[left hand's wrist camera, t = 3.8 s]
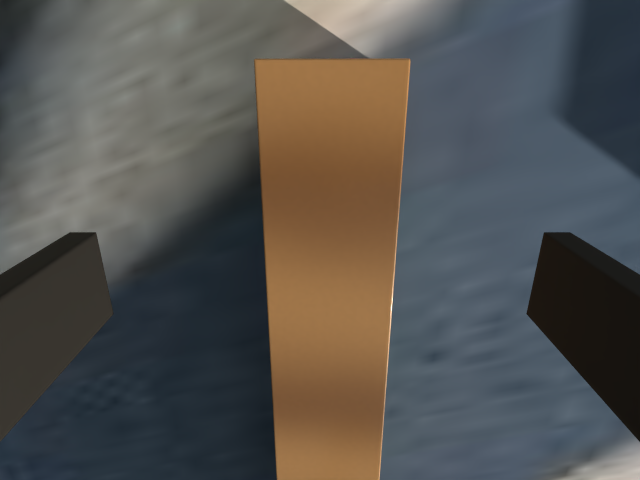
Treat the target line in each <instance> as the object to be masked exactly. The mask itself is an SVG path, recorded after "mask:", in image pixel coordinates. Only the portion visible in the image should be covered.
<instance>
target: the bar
mask: <svg viewBox="0 0 640 480" xmlns="http://www.w3.org/2000/svg"><path fill="white" fill-rule="evenodd" d="M254 67H255V86H256V104H257V123H258V141H259V160H260V178H261V197H262V215H263V234H264V252H265V271H266V289H267V308H268V326H269V345H270V363H271V382H272V400H273V419H274V437H275V456H276V474H277V480H379V476H380V462H381V449H382V435H383V422H384V408H385V395H386V381H387V368H388V355H389V341H390V328H391V314H392V301H393V287H394V274H395V260H396V247H397V233H398V220H399V206H400V193H401V179H402V166H403V152H404V139H405V126H406V112H407V99H408V85H409V72H410V59H254Z"/></svg>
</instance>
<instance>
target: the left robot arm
mask: <svg viewBox="0 0 640 480" xmlns="http://www.w3.org/2000/svg"><path fill="white" fill-rule="evenodd" d="M112 315H113V310H112V305H111V300H110V296H109V291H108V286H107V281H106V277H105V272H104V267H103V263H102V258H101V253H100V249H99V244H98V239H97V235H96V232H70V233H68V234H67V235H65V236H63V237H62V238H60V239H58V240H57V241H55V242H53V243H52V244H50V245H48V246H47V247H45V248H43V249H42V250H40V251H39V252H37V253H35V254H34V255H32V256H30V257H29V258H27V259H25V260H24V261H22V262H20V263H19V264H17V265H16V266H14V267H12V268H11V269H9V270H7V271H6V272H4V273H2V274H1V275H0V441H1V440H2V439H3V438H4V437H5V436H6V435H7V434H8V432H9V431H10V430H11V429H12V428H13V427H14V426H15V424H16V423H17V422H18V421H19V420H20V419H21V418H22V417H23V415H24V414H25V413H26V412H27V411H28V410H29V409H30V408H31V406H32V405H33V404H34V403H35V402H36V401H37V400H38V399H39V397H40V396H41V395H42V394H43V393H44V392H45V391H46V389H47V388H48V387H49V386H50V385H51V384H52V383H53V382H54V380H55V379H56V378H57V377H58V376H59V375H60V374H61V373H62V371H63V370H64V369H65V368H66V367H67V366H68V365H69V363H70V362H71V361H72V360H73V359H74V358H75V357H76V356H77V354H78V353H79V352H80V351H81V350H82V349H83V348H84V347H85V345H86V344H87V343H88V342H89V341H90V340H91V339H92V338H93V336H94V335H95V334H96V333H97V332H98V331H99V330H100V328H101V327H102V326H103V325H104V324H105V323H106V322H107V321H108V319H109V318H110V317H111V316H112ZM527 315H528V316H529V317H530V318H531V319H532V321H533V322H534V323H535V324H536V325H537V326H538V327H539V328H540V330H541V331H542V332H543V333H544V334H545V335H546V336H547V338H548V339H549V340H550V341H551V342H552V343H553V344H554V345H555V347H556V348H557V349H558V350H559V351H560V352H561V353H562V354H563V356H564V357H565V358H566V359H567V360H568V361H569V362H570V363H571V365H572V366H573V367H574V368H575V369H576V370H577V371H578V373H579V374H580V375H581V376H582V377H583V378H584V379H585V380H586V382H587V383H588V384H589V385H590V386H591V387H592V388H593V389H594V391H595V392H596V393H597V394H598V395H599V396H600V397H601V399H602V400H603V401H604V402H605V403H606V404H607V405H608V406H609V408H610V409H611V410H612V411H613V412H614V413H615V414H616V415H617V417H618V418H619V419H620V420H621V421H622V422H623V423H624V424H625V426H626V427H627V428H628V429H629V430H630V431H631V432H632V434H633V435H634V436H635V437H636V438H637V439H638V440H639V441H640V275H639V274H638V273H636V272H634V271H633V270H631V269H629V268H628V267H626V266H624V265H623V264H621V263H620V262H618V261H616V260H615V259H613V258H611V257H610V256H608V255H606V254H605V253H603V252H601V251H600V250H598V249H597V248H595V247H593V246H592V245H590V244H588V243H587V242H585V241H583V240H582V239H580V238H578V237H577V236H575V235H573V234H572V233H570V232H544V235H543V239H542V244H541V249H540V253H539V258H538V263H537V267H536V272H535V277H534V281H533V286H532V291H531V296H530V300H529V305H528V310H527Z"/></svg>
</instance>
